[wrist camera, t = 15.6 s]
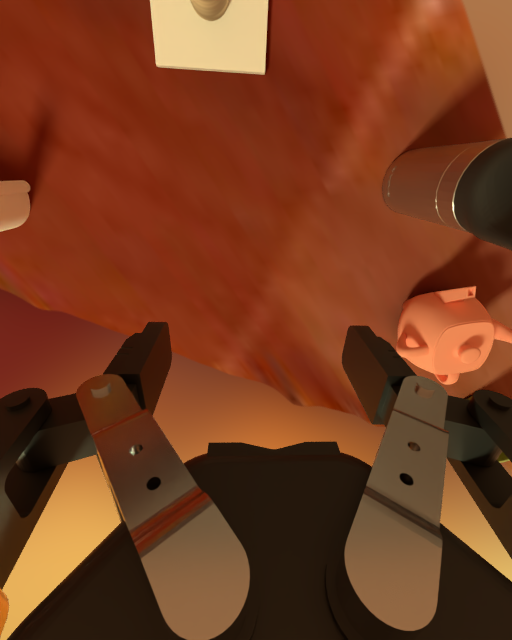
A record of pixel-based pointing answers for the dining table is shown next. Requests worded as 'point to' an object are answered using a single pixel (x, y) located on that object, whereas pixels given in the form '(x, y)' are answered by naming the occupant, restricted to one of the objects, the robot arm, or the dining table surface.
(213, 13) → the pepper mill
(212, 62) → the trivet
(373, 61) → the dining table surface
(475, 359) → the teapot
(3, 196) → the cream triple cylinder
